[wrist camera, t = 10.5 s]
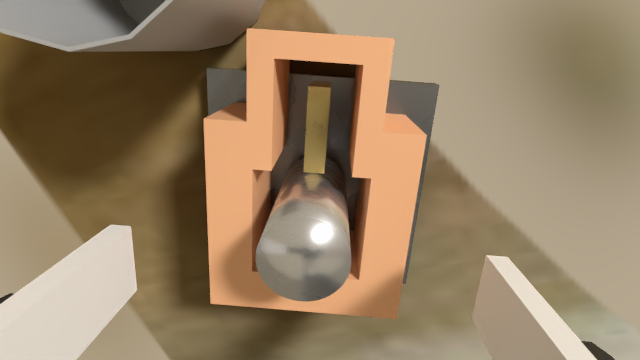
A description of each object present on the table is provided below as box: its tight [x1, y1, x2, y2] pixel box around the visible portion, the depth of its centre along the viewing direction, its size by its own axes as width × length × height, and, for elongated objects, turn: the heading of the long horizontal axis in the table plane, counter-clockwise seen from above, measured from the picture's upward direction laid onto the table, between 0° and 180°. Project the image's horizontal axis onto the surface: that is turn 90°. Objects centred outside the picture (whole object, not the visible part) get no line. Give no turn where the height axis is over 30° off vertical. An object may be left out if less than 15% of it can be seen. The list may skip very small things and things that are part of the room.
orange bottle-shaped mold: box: [204, 28, 427, 319], centre depth 18 cm, size 12×9×5 cm
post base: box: [207, 67, 439, 302], centre depth 18 cm, size 12×12×9 cm
